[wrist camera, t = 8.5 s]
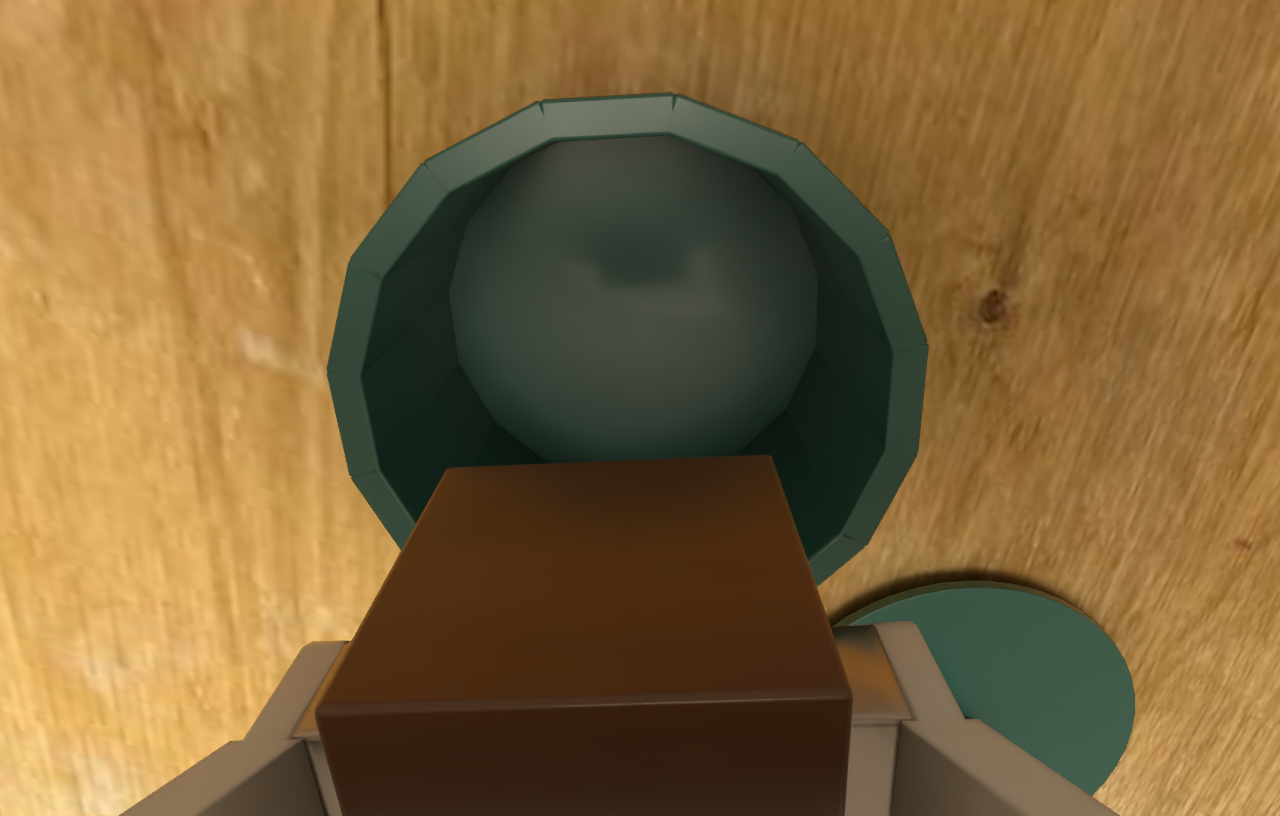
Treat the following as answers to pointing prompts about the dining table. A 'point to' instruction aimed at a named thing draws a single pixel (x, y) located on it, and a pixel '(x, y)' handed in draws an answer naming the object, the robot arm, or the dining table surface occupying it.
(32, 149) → the dining table surface
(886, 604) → the tin lid
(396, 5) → the dining table surface
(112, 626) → the dining table surface
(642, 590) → the block
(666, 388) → the tin
